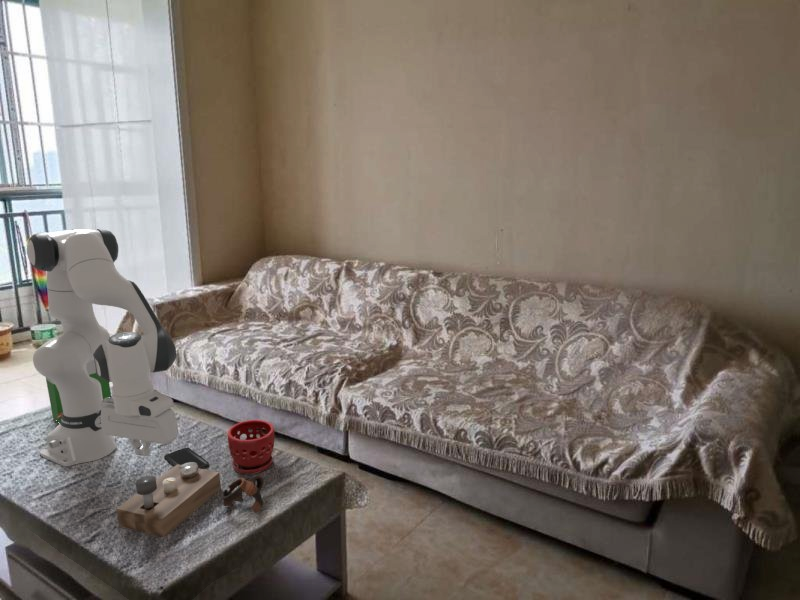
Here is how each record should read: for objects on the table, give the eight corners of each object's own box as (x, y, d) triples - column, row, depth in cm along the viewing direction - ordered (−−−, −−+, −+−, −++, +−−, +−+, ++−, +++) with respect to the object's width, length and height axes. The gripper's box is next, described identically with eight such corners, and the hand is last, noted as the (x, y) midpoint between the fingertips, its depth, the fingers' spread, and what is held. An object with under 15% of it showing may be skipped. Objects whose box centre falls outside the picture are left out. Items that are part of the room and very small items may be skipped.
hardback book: (105, 402, 216) (95, 342, 211) (113, 408, 211) (103, 346, 206) (53, 418, 204) (41, 354, 198) (60, 424, 199) (48, 359, 193)
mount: (118, 526, 143) (115, 508, 142) (179, 480, 163) (177, 464, 162) (164, 537, 138) (161, 519, 137) (221, 488, 158) (219, 472, 157)
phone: (187, 446, 180) (210, 463, 170) (187, 449, 181) (210, 466, 170) (162, 455, 175) (184, 473, 165) (162, 459, 175) (184, 477, 165)
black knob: (134, 509, 141) (131, 484, 139) (148, 498, 145) (145, 474, 144) (149, 512, 140) (146, 487, 138) (163, 502, 144) (159, 477, 142)
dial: (160, 491, 148) (159, 482, 148) (169, 485, 151) (168, 475, 151) (171, 493, 147) (169, 484, 147) (179, 487, 150) (178, 477, 150)
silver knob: (178, 492, 156) (175, 469, 154) (190, 483, 160) (187, 461, 158) (192, 495, 154) (189, 472, 153) (203, 486, 159) (201, 463, 157)
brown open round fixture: (252, 522, 144) (232, 497, 142) (229, 526, 150) (210, 502, 148) (278, 487, 154) (260, 463, 152) (256, 492, 159) (238, 469, 157)
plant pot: (224, 478, 163) (220, 439, 161) (239, 454, 176) (235, 418, 173) (270, 478, 163) (266, 440, 160) (281, 455, 176) (278, 419, 173)
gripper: (89, 401, 136) (99, 454, 140) (159, 411, 130) (167, 466, 133) (110, 391, 142) (119, 442, 145) (178, 400, 135) (185, 453, 139)
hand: (142, 454), depth 139 cm, fingers closed
